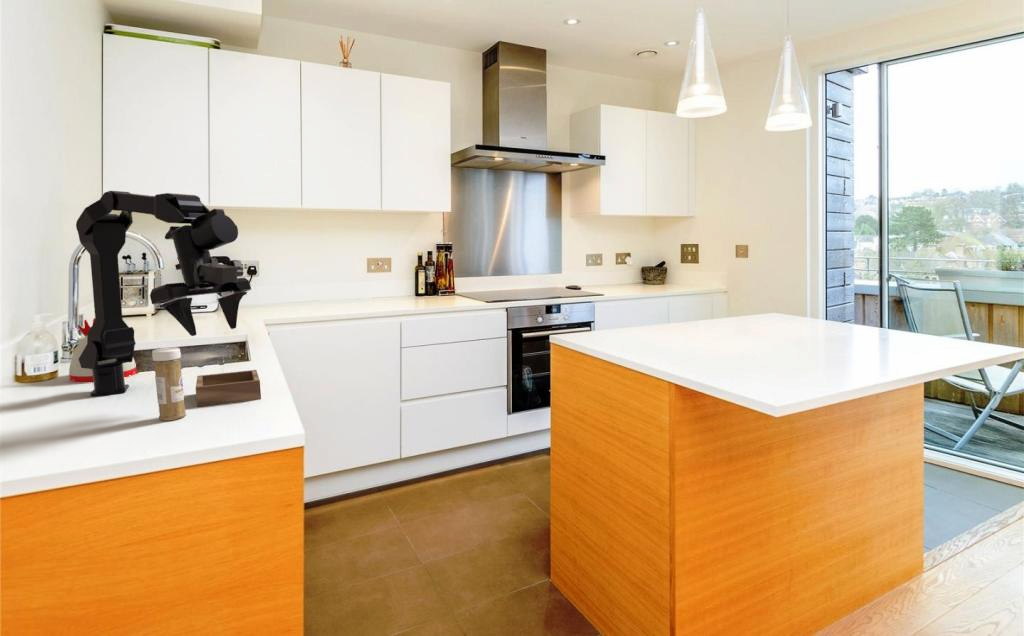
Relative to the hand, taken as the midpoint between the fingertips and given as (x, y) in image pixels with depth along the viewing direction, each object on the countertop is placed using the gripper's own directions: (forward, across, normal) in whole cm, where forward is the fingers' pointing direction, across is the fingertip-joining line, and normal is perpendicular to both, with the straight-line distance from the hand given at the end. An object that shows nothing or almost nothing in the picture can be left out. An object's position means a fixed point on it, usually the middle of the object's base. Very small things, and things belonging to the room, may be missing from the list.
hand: (214, 331), depth 115 cm
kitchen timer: (+2, +10, +55) cm, 56 cm away
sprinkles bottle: (+14, -9, +6) cm, 18 cm away
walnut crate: (+14, +7, +9) cm, 18 cm away
